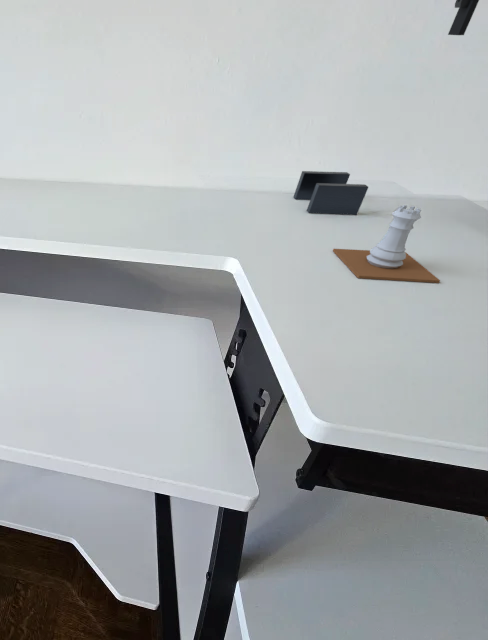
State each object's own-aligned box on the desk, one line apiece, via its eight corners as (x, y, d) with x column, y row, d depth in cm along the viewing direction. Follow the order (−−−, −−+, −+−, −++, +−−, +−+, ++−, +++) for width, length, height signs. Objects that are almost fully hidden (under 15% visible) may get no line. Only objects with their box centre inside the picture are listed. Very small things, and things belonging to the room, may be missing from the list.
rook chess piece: (406, 271, 69) (435, 214, 64) (369, 267, 70) (396, 211, 66) (395, 258, 73) (423, 204, 68) (361, 255, 74) (385, 201, 69)
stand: (337, 198, 97) (347, 172, 94) (356, 215, 89) (368, 186, 86) (293, 197, 99) (302, 170, 96) (308, 213, 91) (319, 185, 88)
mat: (404, 254, 75) (405, 252, 75) (439, 283, 67) (440, 280, 67) (332, 250, 77) (333, 248, 76) (357, 278, 69) (359, 275, 68)
